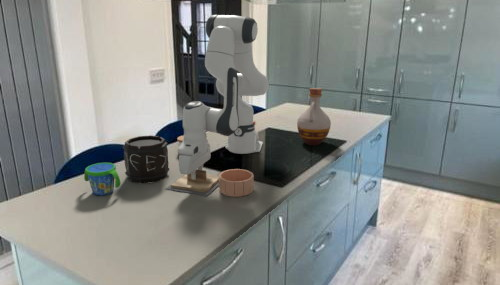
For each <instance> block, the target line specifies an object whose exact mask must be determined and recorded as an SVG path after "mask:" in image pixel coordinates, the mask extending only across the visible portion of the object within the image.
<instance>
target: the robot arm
mask: <svg viewBox="0 0 500 285" xmlns="http://www.w3.org/2000/svg"><path fill="white" fill-rule="evenodd" d="M205 33H206V36H207V38H209V39H208V42H207V46H206V50H205V58H204V66H205V68H206V70H207V72H208V74H210V75H211V76H212V77H214V78H215V79H216V81H215V87H216V90H217V92H218V93H219V94H220V95H221V96H223V108H216V107H211V106H207V105H206V104H204V102H202V101H198V100H197V101H196V100H195V101H190V102H187V103H186V104H185V105H184V106H183V110H182V128H183V135H184V140H183V142H182V144H181V145H180V146H179V147H178V148H177V154H179V156H178V168H179V172H180V175H181V174H182V175H185V174H186V175H189V174H191V179H193V180H195V179H196V178H197V174H196V173H195V171H196V169H197V170H204V164H206V162H208V161H209V160H210V159H211V156H212V155H211V145H210V143H209V141H208V139H207V138H208V137H207V133H206V132H209V133H215V134H219V135H221V136H224V137H227V145H225V149H226V150H228V151H229V152H230V153H233V154H238V155H239V154H240V155H243V154H247V155H248V154H252V153H260V152H261V150H262V148H263V145H264V142H263V141H261V140H260V138H259V137H260V136H259V132H257V131H256V127H255V126H256V124H257V123H256V121H255V120H254V108H253V106H252V105H251V104H250V103H248V102H247V101H244V100H243V98H242V97H259V96H263V95H265V94H266V93H267V92H268V90H269V87H270V86H269V85H270V83H269V79H268V78H267V76H266V75H265V74H263V73H262V72H261V71H260V70H258V68H257V66H256V65H255V63H254V56H253V42H254V41H255V40H256V38H257V35H258V23H257V22H256V20H255V19H254V18H253V17H249V16H241V15H236V14H231V15H229V14H226V15H225V14H212V15H210V16H209V18H207V20H206V23H205Z"/></svg>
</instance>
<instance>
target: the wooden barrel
mask: <svg viewBox="0 0 500 285" xmlns="http://www.w3.org/2000/svg"><path fill="white" fill-rule="evenodd" d="M122 149H123V159H124V165H125V166H124V167H125V172H124V173H125V176H126V177H127V178H128V179H129V180H130V182H132V183H136V184H141V185H142V184H151V183H153V184H154V183H157V182H159V181H163V180H164V179H165V178H166V177H167V176H168V172H170V168H169V155H168V153H169V152H168V151H169V150H168V142H167V141H166V139H165V138H163V137H162V136H159V135H152V134H151V135H140V136H135V137H130V138H128V139H127V140H126V141H125V142H124V145H122Z"/></svg>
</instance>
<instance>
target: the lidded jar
mask: <svg viewBox="0 0 500 285" xmlns="http://www.w3.org/2000/svg"><path fill="white" fill-rule="evenodd" d="M176 139H177V140H176V141H177V147H178V148H179V146H180V145H181V144H182V142H183V140H184V134H183V135H180V136H178V137H177V138H176Z"/></svg>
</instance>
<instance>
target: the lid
mask: <svg viewBox="0 0 500 285" xmlns="http://www.w3.org/2000/svg"><path fill="white" fill-rule="evenodd" d="M197 169H198V168H197ZM197 169H196V171H195V173H196V174H197V178H196V179H195V180H193V179H191V174H189V175H186V174H183V175H184V176H183V175H182V176H181V177H179V178H180V179H179V178H178V179H177V181H176V180H175V181H176V182H175V181H174V182H172V183H173V184H172V183H171V184H170V185H171V187H172V188H179V189H185V190H192V191H198V192H204V193H206V192H207V191H208V190H209V189H210V188H212V187H213V186H214V185H215V184H216V183H217V182H218V181H219V174H218V175H216V174H209V173H207V170H204V169H202V170H197Z"/></svg>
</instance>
